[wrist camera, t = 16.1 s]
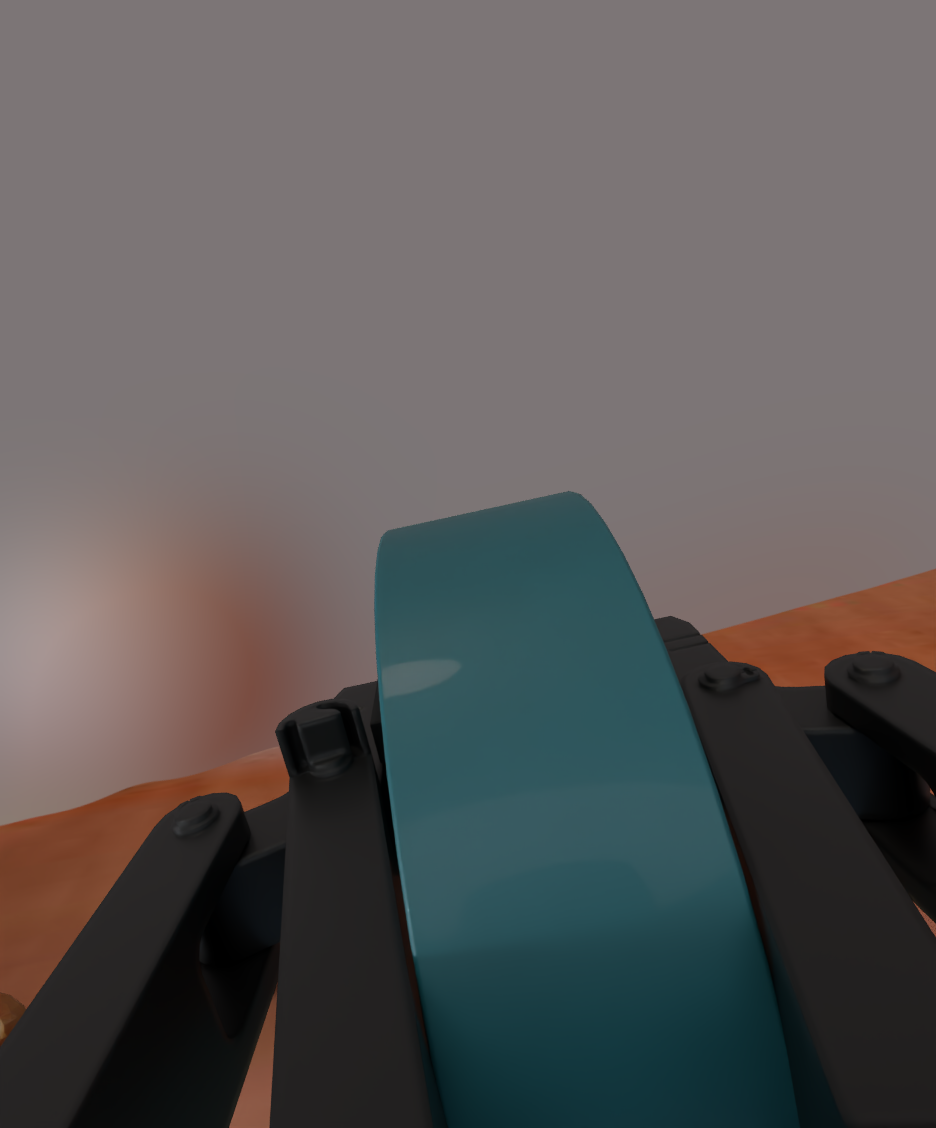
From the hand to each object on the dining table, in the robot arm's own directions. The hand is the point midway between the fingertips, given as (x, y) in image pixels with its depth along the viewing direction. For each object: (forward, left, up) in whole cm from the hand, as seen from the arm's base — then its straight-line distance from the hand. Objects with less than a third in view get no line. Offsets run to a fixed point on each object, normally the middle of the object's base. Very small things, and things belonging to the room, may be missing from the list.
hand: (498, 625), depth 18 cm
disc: (+1, -6, -2) cm, 6 cm away
